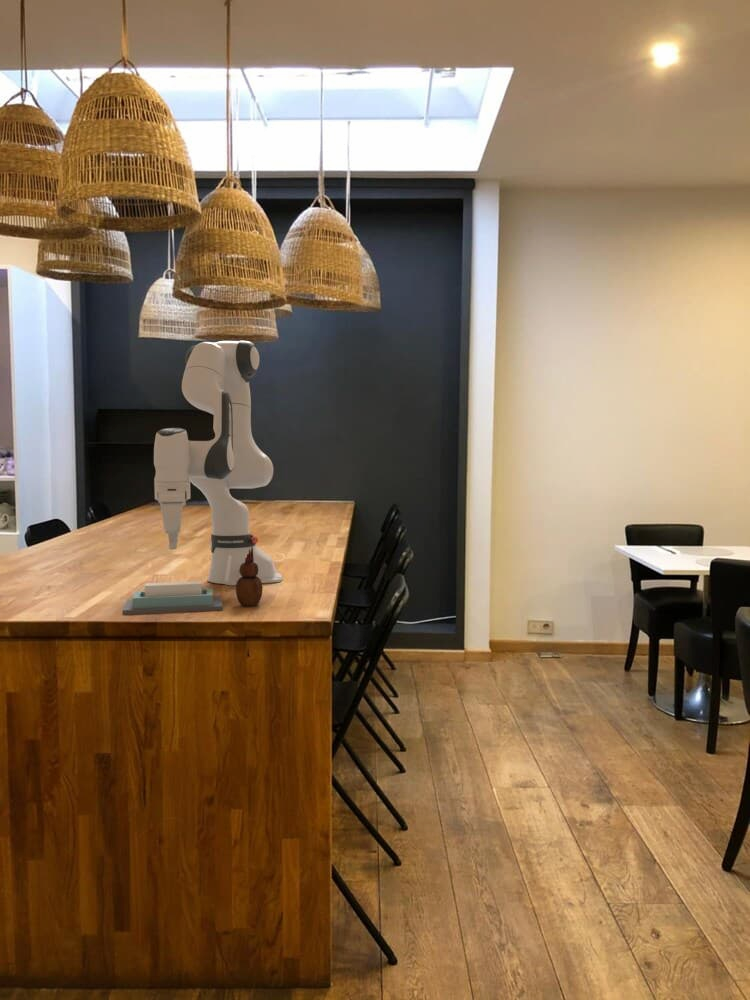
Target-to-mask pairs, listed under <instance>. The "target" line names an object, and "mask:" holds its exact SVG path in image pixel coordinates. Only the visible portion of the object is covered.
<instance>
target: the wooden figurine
mask: <svg viewBox="0 0 750 1000" xmlns="http://www.w3.org/2000/svg"><path fill="white" fill-rule="evenodd" d="M240 574H241V576H243V577H241V578H239V580H238V581H237V584H236V585H235V592H236V593H235V594H236V598H237V601H238V603H239V605H240V606H242V607H253V606H257V605H258V604H259V603H260V601H261V598H262V595H263V583H262V582H261V579H260V578H259V577H257V576H256V575H257V574H258V565H257V564H256V563H254V559H253V547H252V548H251V552H250V550H249V554H247V558H245V562H244V563H242V564H241V566H240Z"/></svg>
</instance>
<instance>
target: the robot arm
mask: <svg viewBox="0 0 750 1000" xmlns="http://www.w3.org/2000/svg"><path fill="white" fill-rule="evenodd" d="M259 353H260V352H259V349H258V347H257V346H256V345H255V344H254V343H253V342H252V341H248V340H238V341H237V340H221V341H216V342H215V341H214V342H210V341H202V342H200V343H198V344H195V345H192V346H190V348H188V350H187V352H186V354H185V369H184V372H183V377H182V380H181V392H182V394H183V396H184V398H185V400H186V401H187V402H188V403H189V404H190V405H191V406H193V407H195V408H197V409H198V410H200V411H203V412H207V413H209V414H211V415H213V426H212V427H213V432H214V434H215V436H214V438H213V439H210V440H189V436H188V432H187V430H186V429H185V428H180V427H169V428H162V429H160V430H158V431H156V434H155V436H154V437H155V438H154V446H153V465H154V469H155V475H154V479H153V480H154V481H153V483H154V500H156V501H158V503H159V505H160V509H161V516H162V517H161V518H162V523H163V529H164V533H165V534H167V536H168V543H169V545H168V546H169V548H168V549H169V550H171V551H172V550H173V551H174V550H177V549H178V542H179V533H180V531H181V526H182V517H183V507H184V506H186V505H187V503H186V502H187V501H188V500H190V499H191V484H192V485H193V486H195V487H196V488H197V489H198V490H200V491H201V493H202V494H203V495H204V497H205V498H206V500H207V502H208V505H209V507H210V508H209V509H210V513H211V525H212V528H211V529H212V533H211V534H210V551H211V559H210V566H209V567H210V568H209V573H208V577H207V582H209V583H213V584H222V585H226V586H236V584H237V581H238V580H239V578H241V577H243V576H241V574H240V566H241V564H242V563H244V562H245V558H247V554H249V550H250V552H251V548H252V547H253V559H254V563H256V564H257V565H258V574H257V575H256V576H257V577H259V578H260V579H261V582H262V584H271V583H279V582H282V581H283V576H282V574H281V573H279V572H277V571H276V568H275V564H274V560H273V558H272V557H271V556H270V555H268V554H267V553H266V552H265V551H264V550H262V549H261V548H259V547H258V546H257V544H258V542H259V537H258V536H256V535H254V534H252V533H250V510H249V508H248V506H247V505H246V504H245V503H244V502H242V501H241V500H238V499H236V498H234V497H233V496H232V495H231V493H230V489H257V488H261V487H266V486H267V485H269V483H270V482H271V480H272V479H273V475H274V465H273V462H272V460H271V459H270V457H269V456H267V454H265V453H264V452H263V451H262V450H261V449H260V448H259V446H258V445H257V444H256V442H255V440H254V437H253V435H252V434H253V433H252V424H251V423H252V419H251V413H252V407H251V406H252V400H251V389H250V382H251V380H252V378H253V377H254V376H255V375H256V374H257V372H258V370H259V368H260V354H259Z"/></svg>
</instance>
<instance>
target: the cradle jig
mask: <svg viewBox="0 0 750 1000" xmlns="http://www.w3.org/2000/svg"><path fill="white" fill-rule="evenodd" d="M208 611H210V612H211V611H223V601H222V596H221V595H214V593H213V588H211V587H209V588H208V587H207V588H202V594H199V595H174V596H148V597H145V590H135V591H134V594H133V597H132V599H131V598H130V599H129V598H128V599H127V600H126V601H125V604H124V605H123V608H122V615H140V614H163V613H164V614H167V613H184V612H185V613H188V612H208Z"/></svg>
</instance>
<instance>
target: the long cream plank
mask: <svg viewBox="0 0 750 1000" xmlns="http://www.w3.org/2000/svg"><path fill="white" fill-rule="evenodd" d="M202 589H203V583H202V580H197V581H196V580H195V581H194V580H193V581H173V582H172V581H171V582H168V581H167V582H151V583H150V582H145V583H144V591H145V597H148V596H174V595H199V594H202Z"/></svg>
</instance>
